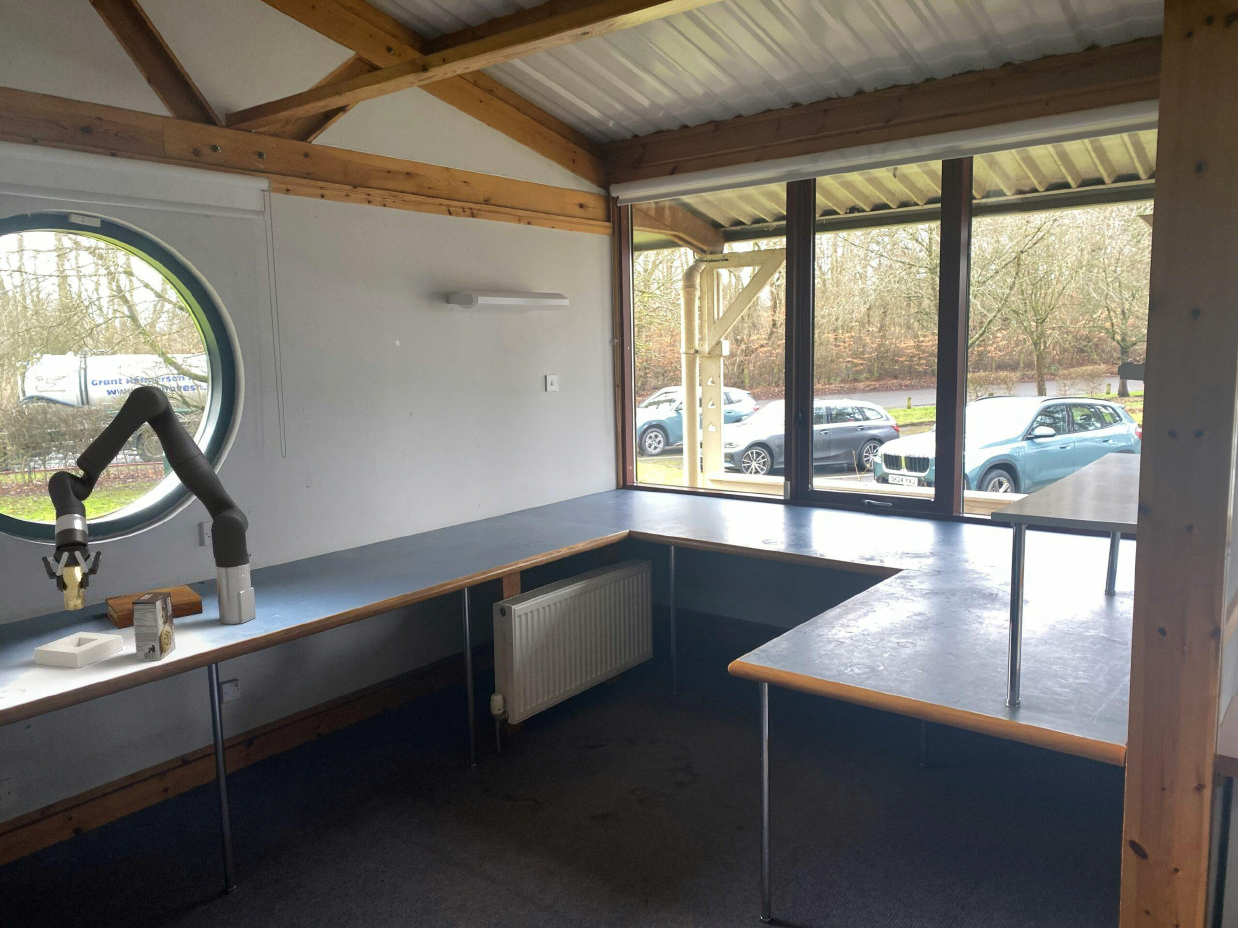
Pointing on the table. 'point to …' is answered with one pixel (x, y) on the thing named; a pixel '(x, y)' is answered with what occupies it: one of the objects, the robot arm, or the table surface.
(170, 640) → the coffee box
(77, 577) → the peg
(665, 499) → the table surface
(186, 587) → the brown wooden box
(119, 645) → the socket
